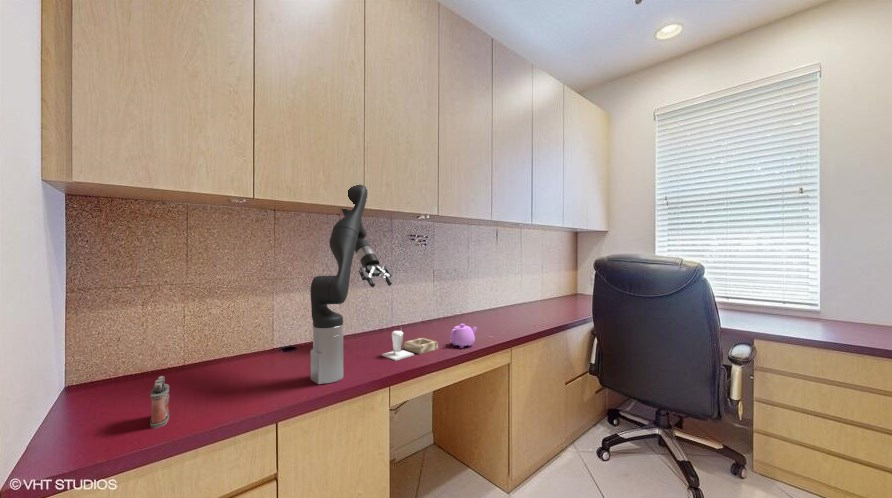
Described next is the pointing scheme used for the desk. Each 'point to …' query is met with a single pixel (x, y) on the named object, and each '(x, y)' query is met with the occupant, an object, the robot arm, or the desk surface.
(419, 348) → the holder
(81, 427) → the desk surface
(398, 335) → the milkshake
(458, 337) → the teapot
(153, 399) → the lighter
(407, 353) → the mat
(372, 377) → the desk surface
